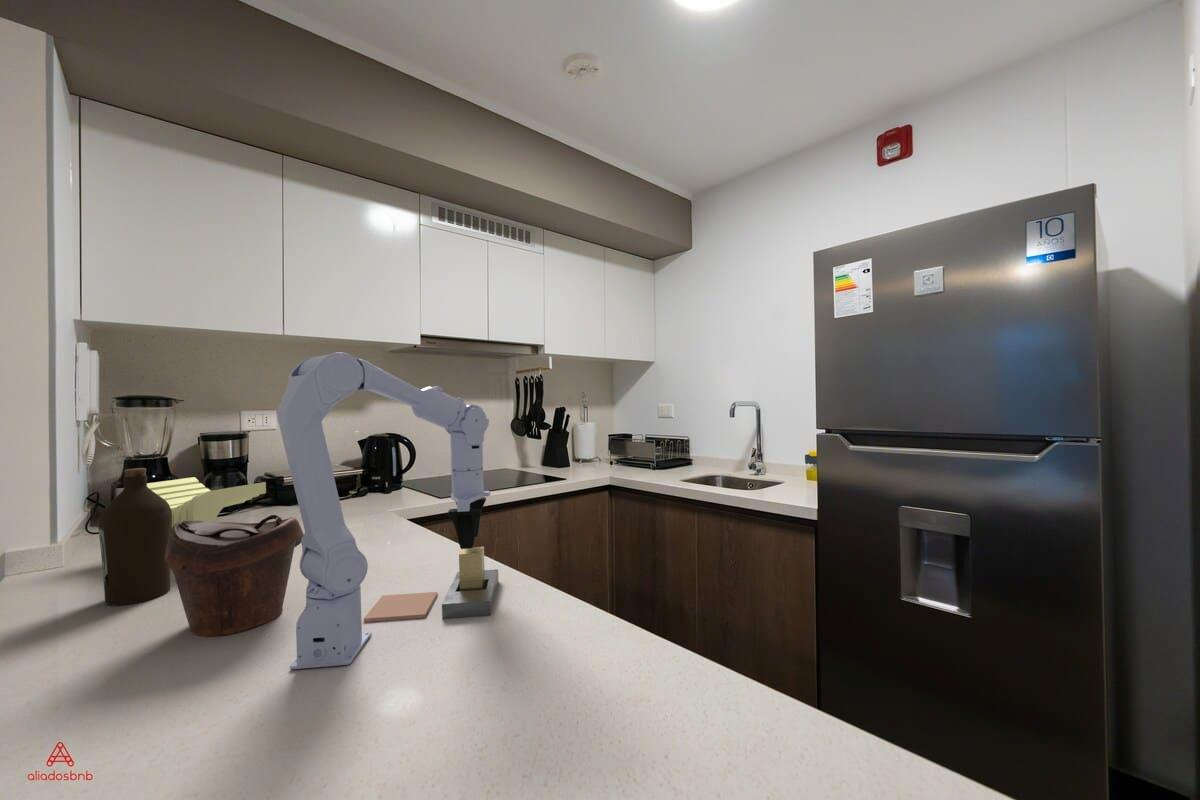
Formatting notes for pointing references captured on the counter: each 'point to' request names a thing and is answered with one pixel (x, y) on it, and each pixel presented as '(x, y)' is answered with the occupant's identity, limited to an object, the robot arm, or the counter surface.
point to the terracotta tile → (401, 607)
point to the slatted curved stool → (201, 498)
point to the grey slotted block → (470, 598)
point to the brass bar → (472, 569)
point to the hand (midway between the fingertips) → (469, 542)
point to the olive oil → (135, 542)
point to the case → (232, 571)
